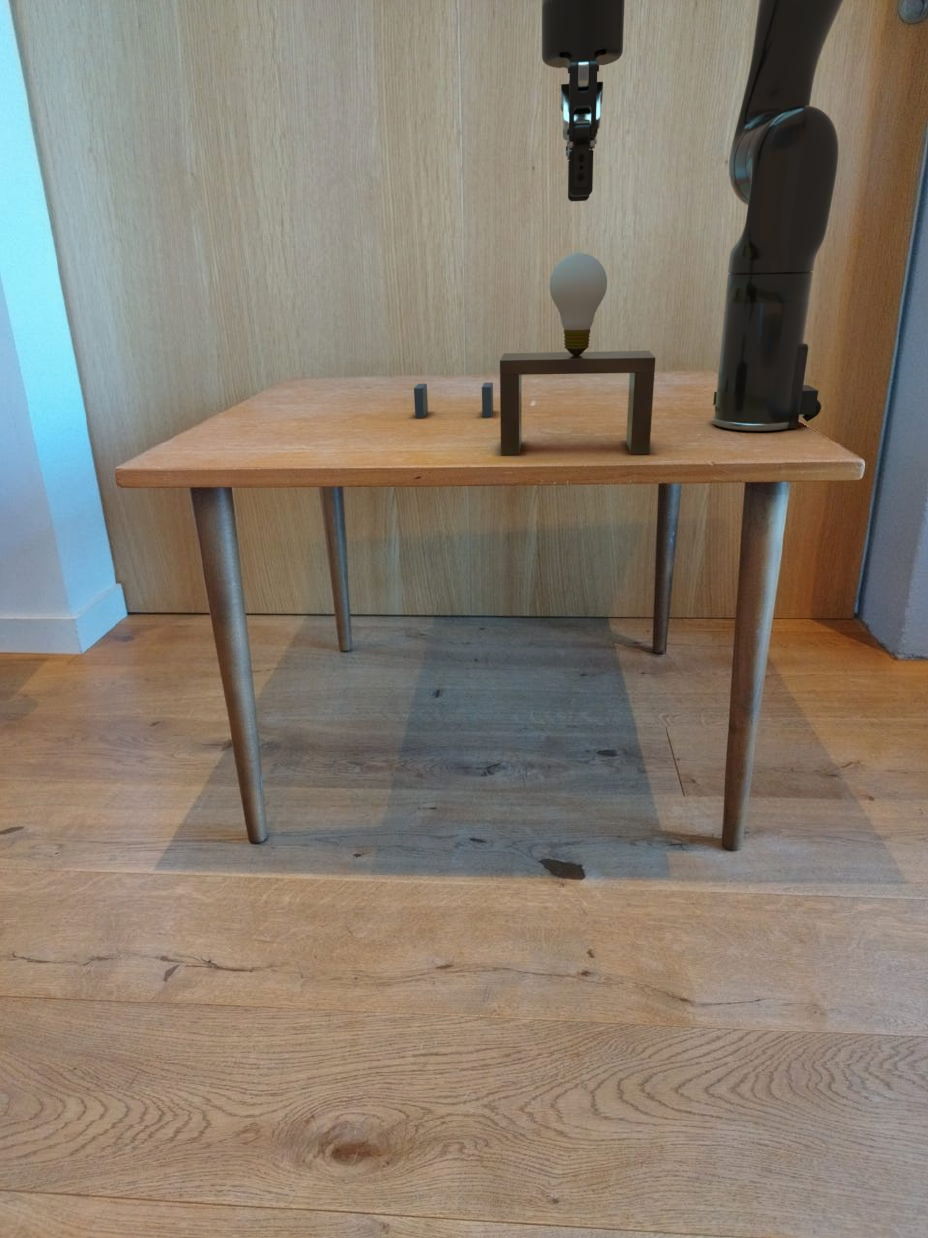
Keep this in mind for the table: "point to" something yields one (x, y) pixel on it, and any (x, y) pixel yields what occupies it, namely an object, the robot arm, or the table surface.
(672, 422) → the table surface
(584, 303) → the light bulb
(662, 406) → the table surface
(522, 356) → the dark brown rectangular arch
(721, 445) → the table surface
